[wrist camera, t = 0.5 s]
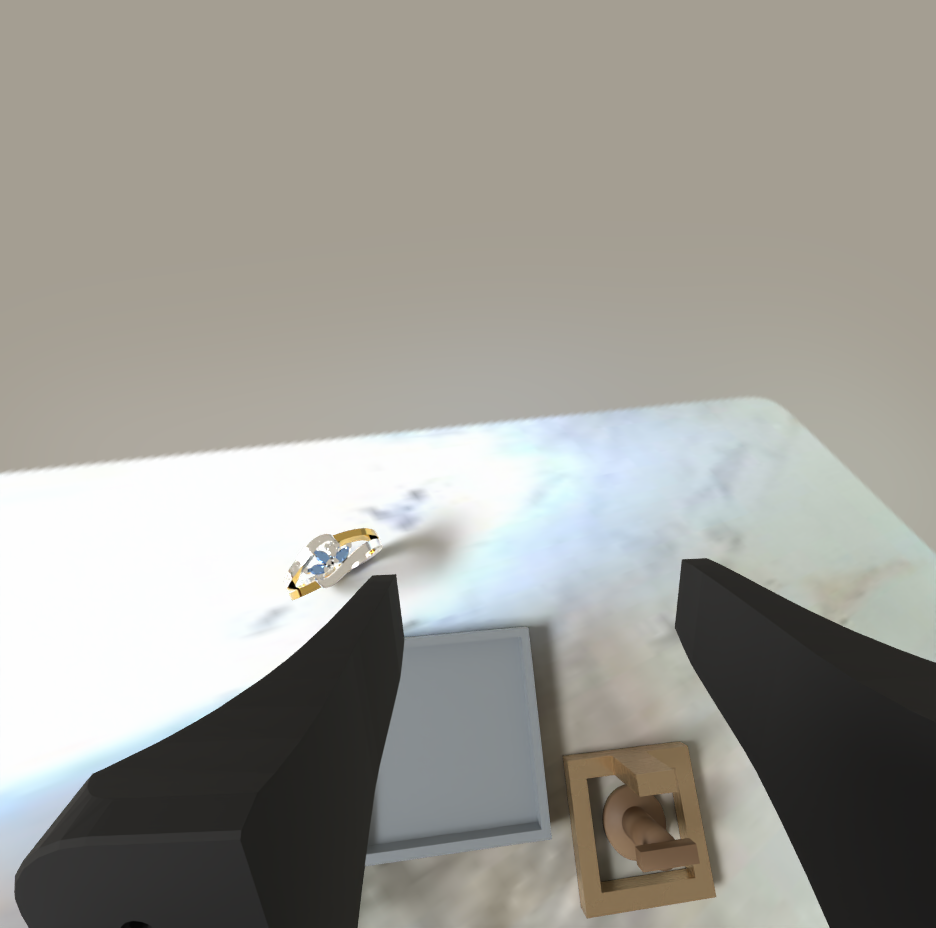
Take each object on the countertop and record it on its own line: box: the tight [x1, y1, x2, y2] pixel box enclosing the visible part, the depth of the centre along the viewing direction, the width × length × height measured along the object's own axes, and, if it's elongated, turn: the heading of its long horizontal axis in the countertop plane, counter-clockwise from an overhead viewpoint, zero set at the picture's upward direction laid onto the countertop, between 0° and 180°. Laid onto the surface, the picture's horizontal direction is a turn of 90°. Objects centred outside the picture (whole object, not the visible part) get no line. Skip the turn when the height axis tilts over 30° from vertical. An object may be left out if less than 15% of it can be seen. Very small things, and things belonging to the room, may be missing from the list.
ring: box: [284, 528, 383, 600], centre depth 33 cm, size 7×3×8 cm, turn 118°
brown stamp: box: [603, 785, 700, 872], centre depth 31 cm, size 4×4×5 cm
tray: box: [365, 627, 552, 866], centre depth 33 cm, size 13×13×2 cm
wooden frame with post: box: [563, 742, 716, 918], centre depth 31 cm, size 9×9×5 cm
